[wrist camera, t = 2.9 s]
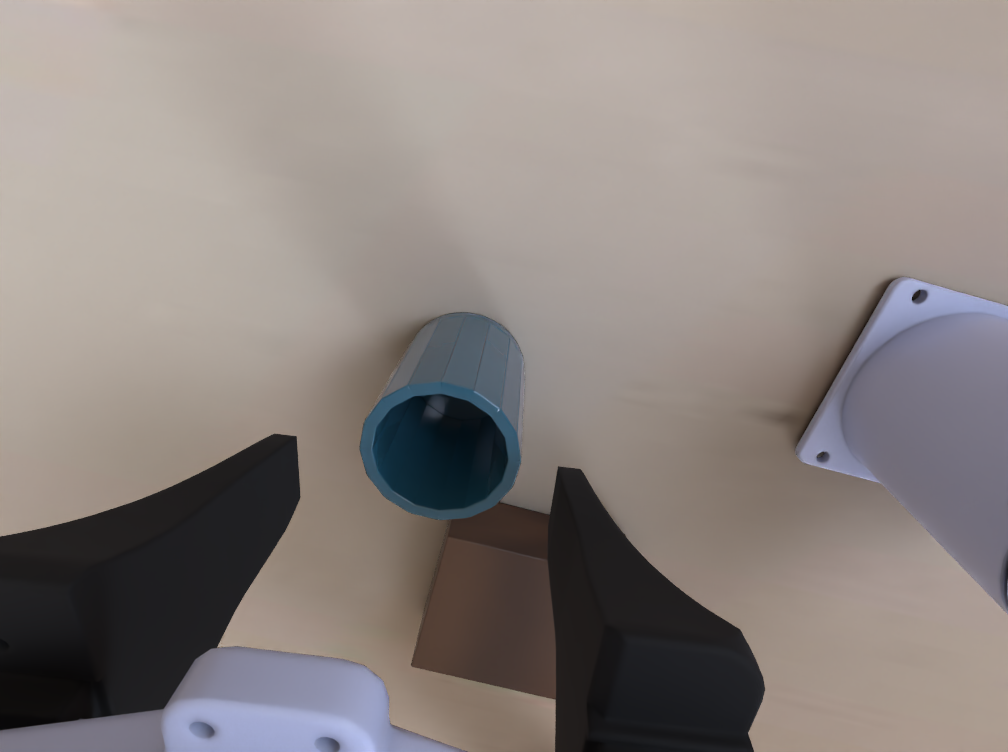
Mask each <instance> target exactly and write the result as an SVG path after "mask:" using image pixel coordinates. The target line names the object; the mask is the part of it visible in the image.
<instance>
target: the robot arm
mask: <svg viewBox="0 0 1008 752" xmlns="http://www.w3.org/2000/svg"><path fill="white" fill-rule="evenodd" d="M918 290H920V291H921V293H920V296H919V297H918V298H917V299H915V300H913V301H912V296H913V294H914V293H915V292H916V291H918ZM821 452H825V454H824V455H823V456H821V457H817V455H818V454H819V453H821ZM795 453H796V455H797V457H798V458H799V459H800V461H801V462H803V463H806V464H809V465H813V466H817V467H821V468H825V469H828V470H832V471H836V472H840V473H844V474H848V475H851V476H855V477H859V478H863V479H867V480H871V481H874V482H878V483H881V484H882V485H883V486H884V487H885V488H886V489H887V490H888V491H889V492H890V493H891V494H892V495H893V496H894V497H895V498H896V499H897V500H898V501H899V502H900V503H901V504H902V505H903V506H904V507H905V508H906V510H907V511H908V512H909V513H910V514H911V515H912V516H913V517H914V518H915V519H916V520H917V521H918V522H919V523H920V524H921V525H922V526H923V527H924V528H925V529H926V530H927V531H928V532H929V533H930V534H931V535H932V536H933V537H934V539H935V540H936V541H937V542H938V543H939V544H940V545H941V546H942V547H943V548H944V549H945V550H946V551H947V552H948V553H949V554H950V555H951V556H952V557H953V558H954V559H955V560H956V561H957V562H958V563H959V564H960V565H961V567H962V568H963V569H964V570H965V571H966V572H967V573H968V574H969V575H970V576H971V577H972V578H973V579H974V580H975V581H976V582H977V583H978V584H979V585H980V586H981V587H982V588H983V589H984V590H985V591H986V592H987V593H988V594H989V596H990V597H991V598H992V599H993V600H994V601H995V602H996V603H997V604H998V605H999V606H1000V607H1001V608H1002V609H1003V610H1004V611H1005V612H1006V613H1007V614H1008V306H1007V305H1004V304H1000V303H997V302H993V301H990V300H986V299H983V298H979V297H976V296H972V295H969V294H965V293H962V292H958V291H955V290H951V289H948V288H944V287H941V286H937V285H934V284H930V283H927V282H923V281H920V280H916V279H913V278H909V277H901V278H897V279H896V280H894V281H893V282H892V283H891V284H890V285H889V286H888V288H887V289H886V291H885V293H884V295H883V296H882V298H881V300H880V302H879V303H878V305H877V307H876V309H875V310H874V312H873V314H872V316H871V317H870V319H869V321H868V323H867V324H866V326H865V328H864V330H863V331H862V333H861V335H860V337H859V338H858V340H857V342H856V344H855V345H854V347H853V349H852V351H851V352H850V354H849V356H848V358H847V359H846V361H845V363H844V364H843V366H842V368H841V370H840V371H839V373H838V375H837V377H836V378H835V380H834V382H833V384H832V385H831V387H830V389H829V391H828V392H827V394H826V396H825V398H824V399H823V401H822V403H821V405H820V406H819V408H818V410H817V412H816V413H815V415H814V417H813V419H812V420H811V422H810V424H809V426H808V427H807V429H806V431H805V433H804V434H803V436H802V438H801V440H800V441H799V443H798V445H797V447H796V449H795ZM299 500H300V483H299V467H298V451H297V436H290V435H281V434H273V435H271V436H269V437H267V438H265V439H263V440H261V441H259V442H257V443H255V444H253V445H252V446H250V447H248V448H246V449H244V450H242V451H241V452H239V453H237V454H235V455H233V456H231V457H230V458H228V459H226V460H224V461H222V462H220V463H219V464H217V465H215V466H213V467H211V468H209V469H207V470H205V471H203V472H201V473H199V474H197V475H195V476H193V477H191V478H189V479H187V480H185V481H182V482H180V483H178V484H176V485H174V486H172V487H169V488H167V489H165V490H162V491H160V492H158V493H155V494H153V495H150V496H147V497H145V498H142V499H140V500H137V501H134V502H132V503H129V504H126V505H123V506H120V507H117V508H113V509H110V510H107V511H104V512H101V513H98V514H95V515H92V516H88V517H85V518H81V519H77V520H74V521H70V522H66V523H62V524H58V525H54V526H50V527H46V528H41V529H37V530H32V531H27V532H22V533H17V534H12V535H6V536H1V537H0V752H467V751H464V750H461V749H458V748H455V747H453V746H450V745H447V744H444V743H441V742H439V741H436V740H433V739H430V738H427V737H425V736H422V735H419V734H416V733H413V732H411V731H408V730H405V729H402V728H399V727H397V726H394V725H391V724H390V719H389V696H388V693H387V690H386V688H385V685H384V682H383V681H382V679H381V678H380V677H378V676H377V675H376V674H375V673H373V672H372V671H371V670H370V669H368V668H367V667H366V666H365V665H362V664H358V663H355V662H352V661H348V660H345V659H340V658H332V657H323V656H315V655H306V654H298V653H290V652H281V651H273V650H264V649H256V648H247V647H239V646H235V647H222V648H217V646H218V644H219V642H220V640H221V638H222V636H223V634H224V632H225V630H226V628H227V626H228V624H229V622H230V620H231V618H232V616H233V614H234V612H235V610H236V609H237V607H238V605H239V603H240V602H241V600H242V598H243V596H244V595H245V593H246V592H247V590H248V589H249V587H250V585H251V584H252V582H253V581H254V579H255V578H256V576H257V574H258V573H259V571H260V570H261V568H262V567H263V565H264V564H265V562H266V560H267V559H268V557H269V556H270V554H271V553H272V551H273V549H274V548H275V546H276V545H277V543H278V541H279V540H280V538H281V537H282V535H283V533H284V532H285V530H286V528H287V526H288V524H289V522H290V520H291V518H292V516H293V513H294V511H295V509H296V507H297V504H298V502H299ZM547 560H548V571H549V581H550V590H551V600H552V609H553V619H554V628H555V643H556V735H555V752H754V750H753V747H752V744H751V741H750V738H749V735H748V732H749V730H750V727H751V725H752V723H753V721H754V718H755V716H756V714H757V712H758V709H759V707H760V705H761V703H762V700H763V695H764V691H765V687H764V681H763V676H762V674H761V671H760V669H759V666H758V664H757V662H756V659H755V657H754V655H753V653H752V651H751V649H750V647H749V645H748V643H747V641H746V640H745V638H744V636H743V634H742V632H741V630H740V629H738V628H737V627H735V626H733V625H732V624H730V623H729V622H727V621H725V620H724V619H722V618H720V617H719V616H717V615H716V614H714V613H712V612H711V611H709V610H708V609H706V608H705V607H703V606H702V605H700V604H699V603H698V602H696V601H695V600H693V599H692V598H691V597H689V596H688V595H687V594H685V593H684V592H683V591H681V590H680V589H679V588H678V587H676V586H675V585H674V584H673V583H671V582H670V581H669V580H668V579H667V578H666V577H665V576H663V575H662V574H661V573H660V572H659V571H658V570H657V569H656V568H654V567H653V566H652V565H651V564H650V563H649V562H648V561H647V560H646V559H645V558H644V557H643V556H642V555H641V553H640V552H639V551H638V550H637V549H636V548H635V547H634V546H633V545H632V544H631V543H630V542H629V540H628V539H627V538H626V537H625V535H624V534H623V533H622V532H621V530H620V529H619V528H618V526H617V525H616V524H615V522H614V521H613V520H612V518H611V517H610V515H609V514H608V512H607V511H606V509H605V508H604V506H603V505H602V503H601V502H600V500H599V499H598V497H597V495H596V494H595V492H594V491H593V489H592V487H591V486H590V484H589V482H588V480H587V478H586V477H585V475H584V473H583V472H582V470H581V469H575V468H566V467H558V471H557V476H556V482H555V488H554V494H553V500H552V506H551V512H550V518H549V524H548V554H547Z"/></svg>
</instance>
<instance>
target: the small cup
mask: <svg viewBox="0 0 1008 752" xmlns="http://www.w3.org/2000/svg"><path fill="white" fill-rule="evenodd" d="M524 371H525V370H524V360H523V356H522V353H521V350H520V348H519V346H518V344H517V342H516V341H515V339H514V338H513V336H512V335H511V334H510V333H509V332H508V331H507V330H506V329H505V328H504V327H502V326H501V325H500V324H498V323H497V322H495V321H493V320H491V319H489V318H487V317H484V316H481V315H478V314H473V313H452V314H447V315H444V316H441V317H438V318H436V319H434V320H432V321H431V322H429V323H428V324H426V325H425V326H424V327H423V328H422V329H421V330H420V331H419V332H418V333H417V334H416V336H415V337H414V339H413V340H412V342H411V343H410V345H409V346H408V347H407V349H406V351H405V352H404V354H403V356H402V357H401V359H400V361H399V363H398V364H397V366H396V368H395V369H394V371H393V373H392V375H391V376H390V378H389V380H388V381H387V383H386V385H385V386H384V388H383V390H382V392H381V393H380V395H379V397H378V398H377V400H376V402H375V404H374V405H373V407H372V409H371V410H370V412H369V414H368V416H367V417H366V419H365V421H364V424H363V430H362V435H361V441H360V446H359V447H360V453H361V456H362V460H363V463H364V467H365V470H366V474H367V476H368V477H369V478H370V480H371V481H372V482H373V483H374V485H375V486H376V487H377V489H378V490H379V491H380V492H381V494H382V495H383V496H384V497H385V498H386V499H388V500H390V501H391V502H393V503H394V504H396V505H398V506H399V507H401V508H402V509H404V510H406V511H407V512H409V513H411V514H415V515H420V516H424V517H428V518H432V519H436V520H449V519H462V518H468V517H472V516H474V515H476V514H479V513H481V512H483V511H485V510H488V509H490V508H492V507H494V506H495V505H496V504H497V503H498V502H499V501H500V500H501V499H502V498H503V497H504V496H505V495H506V494H507V493H508V492H509V490H510V489H511V488H512V487H513V485H514V483H515V480H516V477H517V474H518V471H519V467H520V464H521V457H522V435H523V414H524V392H525V374H524Z"/></svg>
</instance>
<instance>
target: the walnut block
mask: <svg viewBox="0 0 1008 752" xmlns="http://www.w3.org/2000/svg"><path fill="white" fill-rule="evenodd" d="M549 518H550V515H547V514H543V513H539V512H535V511H531V510H527V509H523V508H519V507H515V506H511V505H507V504H503V503H499V502H498V503H497V504H496V505H495V506H494V507H492V508H490V509H488V510H485V511H483V512H481V513H479V514H476V515H474V516H472V517H468V518H462V519H449V522H448V526H447V529H446V533H445V536H444V540H443V544H442V547H441V551H440V554H439V558H438V562H437V565H436V569H435V572H434V576H433V580H432V583H431V587H430V590H429V594H428V598H427V601H426V605H425V608H424V612H423V616H422V620H421V624H420V629H419V633H418V637H417V642H416V646H415V650H414V654H413V659H412V663H411V666H412V667H416V668H420V669H425V670H429V671H433V672H438V673H442V674H446V675H451V676H455V677H459V678H464V679H468V680H473V681H477V682H481V683H486V684H490V685H494V686H499V687H503V688H508V689H512V690H516V691H521V692H525V693H529V694H534V695H538V696H543V697H547V698H551V699H556V643H555V628H554V619H553V609H552V600H551V590H550V581H549V571H548V560H547V554H548V524H549ZM624 535H625V534H624ZM625 537H626V536H625Z"/></svg>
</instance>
